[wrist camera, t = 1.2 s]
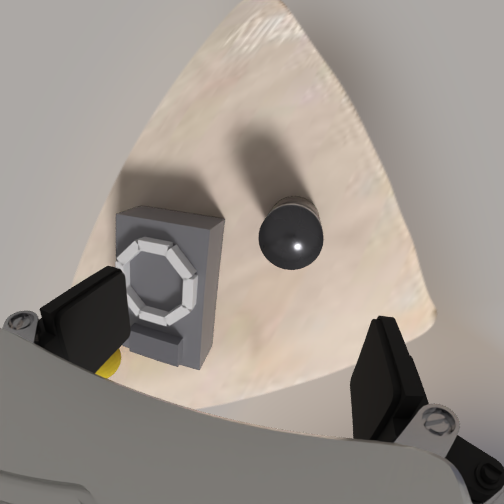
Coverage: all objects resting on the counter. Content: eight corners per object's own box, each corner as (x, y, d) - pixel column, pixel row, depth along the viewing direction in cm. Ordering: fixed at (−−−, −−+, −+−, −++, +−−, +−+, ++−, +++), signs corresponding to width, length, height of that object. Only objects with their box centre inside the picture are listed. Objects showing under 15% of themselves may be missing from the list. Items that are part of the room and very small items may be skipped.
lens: (314, 249, 30) (316, 275, 23) (265, 240, 31) (254, 263, 24) (324, 201, 28) (329, 213, 22) (273, 191, 29) (263, 201, 22)
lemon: (132, 363, 40) (105, 396, 32) (103, 353, 40) (75, 382, 33) (127, 333, 38) (96, 365, 30) (97, 324, 39) (64, 352, 31)
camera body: (212, 345, 36) (195, 378, 30) (141, 325, 37) (116, 352, 31) (225, 218, 31) (204, 234, 24) (140, 205, 32) (107, 216, 26)
